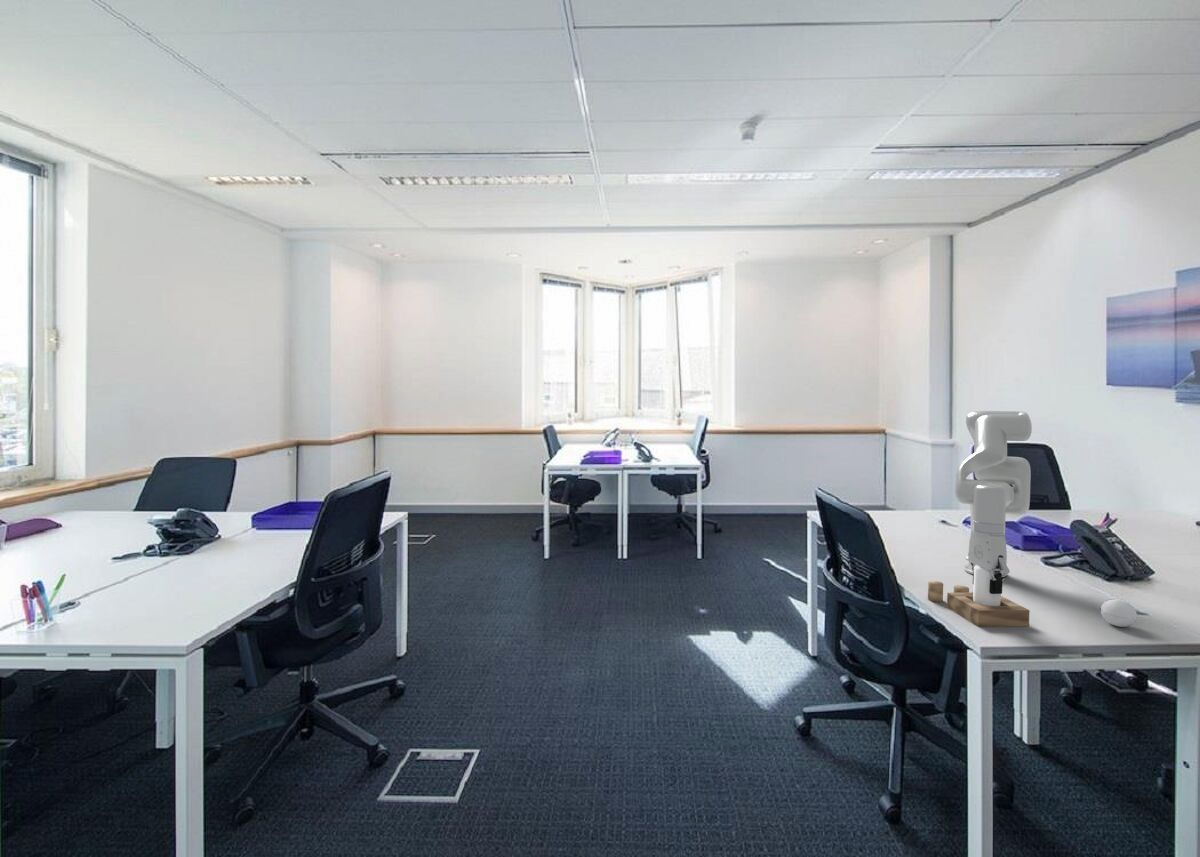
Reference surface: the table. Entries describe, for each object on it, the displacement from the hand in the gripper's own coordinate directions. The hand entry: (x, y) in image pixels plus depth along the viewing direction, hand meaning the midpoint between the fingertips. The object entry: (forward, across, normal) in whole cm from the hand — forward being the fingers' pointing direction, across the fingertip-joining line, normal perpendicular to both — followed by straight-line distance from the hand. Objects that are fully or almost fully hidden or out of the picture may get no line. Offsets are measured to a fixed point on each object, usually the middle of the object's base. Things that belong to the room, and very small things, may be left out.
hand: (987, 588), depth 160 cm
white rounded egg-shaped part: (+8, +7, +30) cm, 32 cm away
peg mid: (+8, -13, -7) cm, 17 cm away
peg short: (+8, -13, +1) cm, 15 cm away
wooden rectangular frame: (+8, 0, 0) cm, 8 cm away
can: (+5, 0, 0) cm, 5 cm away
